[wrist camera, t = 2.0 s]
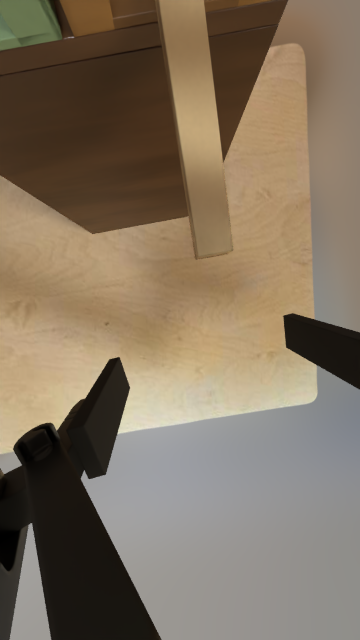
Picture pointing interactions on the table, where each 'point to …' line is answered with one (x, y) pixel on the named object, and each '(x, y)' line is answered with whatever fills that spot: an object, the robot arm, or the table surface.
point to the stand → (117, 115)
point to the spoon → (196, 123)
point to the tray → (27, 23)
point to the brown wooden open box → (124, 13)
